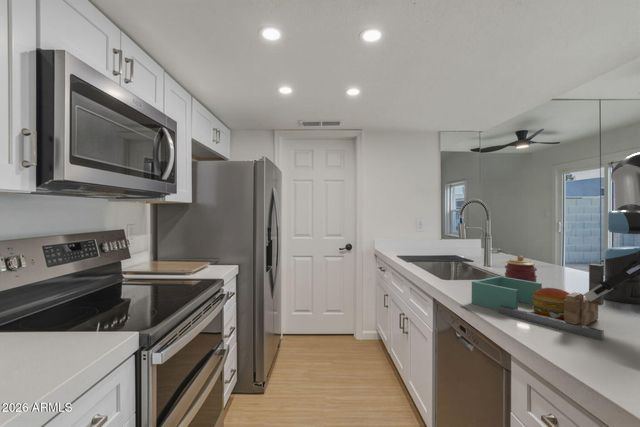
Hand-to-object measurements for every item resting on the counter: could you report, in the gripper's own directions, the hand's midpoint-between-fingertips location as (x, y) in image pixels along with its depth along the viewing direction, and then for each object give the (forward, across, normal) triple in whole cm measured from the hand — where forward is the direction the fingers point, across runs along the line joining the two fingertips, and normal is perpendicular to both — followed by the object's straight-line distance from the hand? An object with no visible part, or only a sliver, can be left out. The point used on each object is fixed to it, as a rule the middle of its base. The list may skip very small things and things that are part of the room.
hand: (589, 297), depth 105 cm
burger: (+14, 0, 0) cm, 14 cm away
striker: (+6, -4, -7) cm, 9 cm away
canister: (+30, +26, +16) cm, 43 cm away
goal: (+25, 0, +12) cm, 28 cm away
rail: (+12, -14, -1) cm, 18 cm away
